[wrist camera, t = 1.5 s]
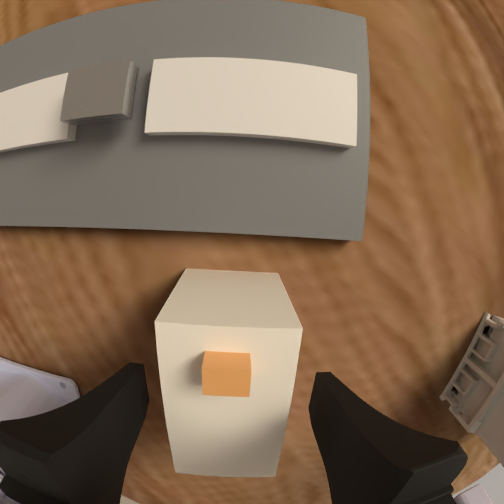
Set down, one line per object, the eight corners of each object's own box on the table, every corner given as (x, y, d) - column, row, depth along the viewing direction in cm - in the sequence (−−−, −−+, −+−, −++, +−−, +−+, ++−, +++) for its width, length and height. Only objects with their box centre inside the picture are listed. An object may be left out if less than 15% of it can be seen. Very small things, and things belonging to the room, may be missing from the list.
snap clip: (73, 125, 11) (60, 120, 9) (81, 77, 10) (69, 69, 9) (132, 119, 11) (122, 113, 10) (139, 68, 10) (130, 58, 9)
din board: (-27, 223, 13) (-44, 227, 11) (-7, 56, 10) (-22, 50, 9) (354, 237, 14) (368, 244, 13) (359, 25, 12) (371, 11, 10)
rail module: (189, 395, 16) (172, 488, 9) (186, 268, 14) (145, 336, 8) (265, 399, 16) (277, 492, 10) (277, 272, 15) (310, 344, 8)
